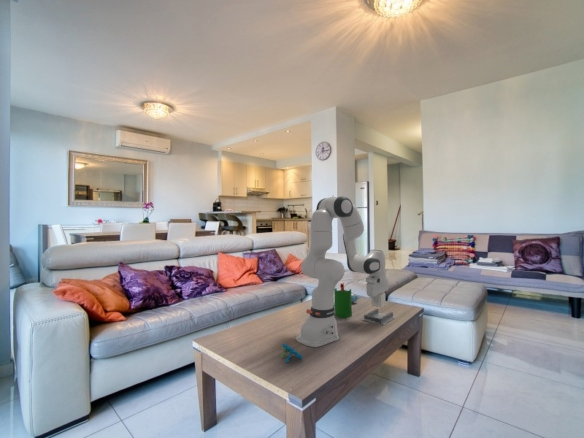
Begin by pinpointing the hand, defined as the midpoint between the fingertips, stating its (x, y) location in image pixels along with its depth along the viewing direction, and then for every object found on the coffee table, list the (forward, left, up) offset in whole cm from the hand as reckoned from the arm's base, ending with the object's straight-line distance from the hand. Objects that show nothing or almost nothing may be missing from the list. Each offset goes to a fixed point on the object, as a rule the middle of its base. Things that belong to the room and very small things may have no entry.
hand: (378, 301), depth 160 cm
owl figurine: (+17, +33, -11) cm, 38 cm away
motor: (-8, +19, -11) cm, 23 cm away
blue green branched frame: (-67, +5, -11) cm, 68 cm away
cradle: (0, 0, -10) cm, 10 cm away
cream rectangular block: (0, 0, -3) cm, 3 cm away
